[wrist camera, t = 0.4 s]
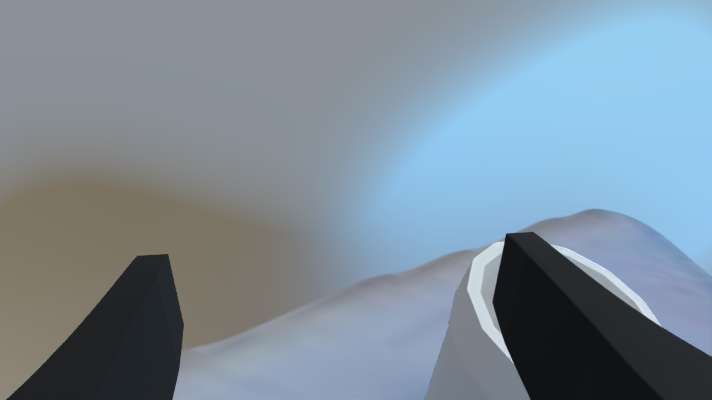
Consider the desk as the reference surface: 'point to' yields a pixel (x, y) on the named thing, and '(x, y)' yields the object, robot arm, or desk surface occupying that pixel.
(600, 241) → the desk surface
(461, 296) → the foam cup
